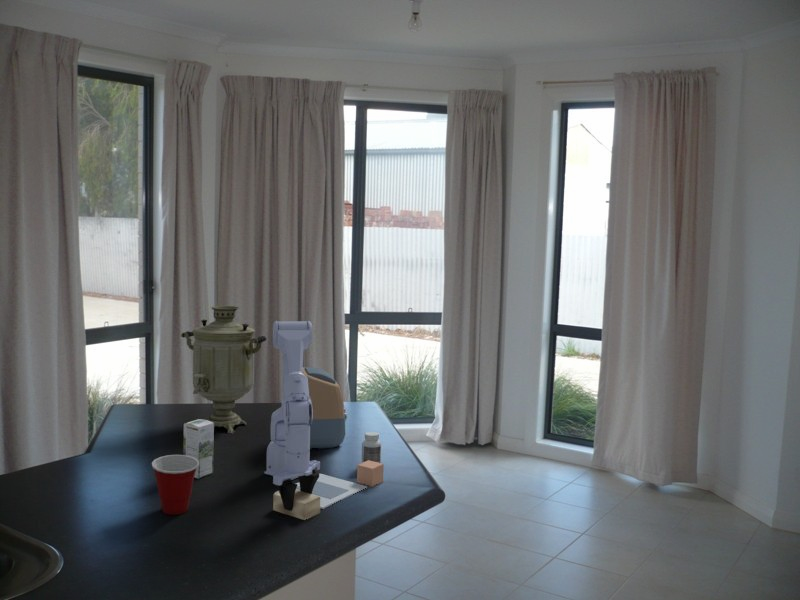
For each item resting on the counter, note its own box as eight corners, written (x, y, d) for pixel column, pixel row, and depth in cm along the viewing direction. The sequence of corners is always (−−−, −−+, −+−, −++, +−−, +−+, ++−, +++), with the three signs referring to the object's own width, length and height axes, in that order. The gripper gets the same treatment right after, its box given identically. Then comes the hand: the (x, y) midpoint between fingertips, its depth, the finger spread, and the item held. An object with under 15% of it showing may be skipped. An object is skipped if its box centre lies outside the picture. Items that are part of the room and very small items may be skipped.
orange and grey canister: (347, 449, 229) (348, 374, 226) (292, 452, 225) (293, 376, 222) (338, 433, 245) (339, 363, 242) (286, 436, 241) (287, 364, 238)
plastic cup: (173, 523, 171) (173, 472, 170) (142, 512, 177) (141, 463, 175) (209, 508, 180) (209, 459, 179) (178, 498, 186) (177, 451, 185)
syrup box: (198, 469, 207) (198, 418, 206) (214, 473, 204) (214, 421, 203) (182, 475, 202) (182, 422, 201) (198, 479, 199) (198, 426, 198)
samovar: (154, 428, 244) (153, 307, 240) (216, 412, 266) (216, 300, 261) (216, 446, 227) (217, 316, 223) (277, 428, 249) (279, 308, 244)
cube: (357, 483, 200) (357, 464, 200) (368, 477, 205) (368, 460, 204) (372, 487, 198) (372, 468, 197) (383, 481, 202) (383, 463, 201)
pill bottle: (384, 468, 212) (384, 434, 211) (367, 471, 209) (368, 437, 208) (374, 462, 217) (374, 429, 216) (358, 465, 214) (358, 432, 213)
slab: (273, 510, 180) (273, 494, 180) (288, 503, 185) (289, 487, 185) (304, 520, 175) (305, 503, 174) (320, 512, 179) (320, 496, 179)
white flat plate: (274, 493, 191) (274, 492, 191) (320, 474, 206) (320, 473, 205) (323, 508, 182) (323, 507, 182) (367, 487, 197) (367, 486, 197)
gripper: (289, 461, 170) (288, 519, 172) (330, 446, 182) (329, 500, 183) (266, 455, 174) (266, 512, 175) (307, 441, 186) (307, 494, 187)
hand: (296, 505), depth 180 cm, fingers closed on slab, 5 cm apart
